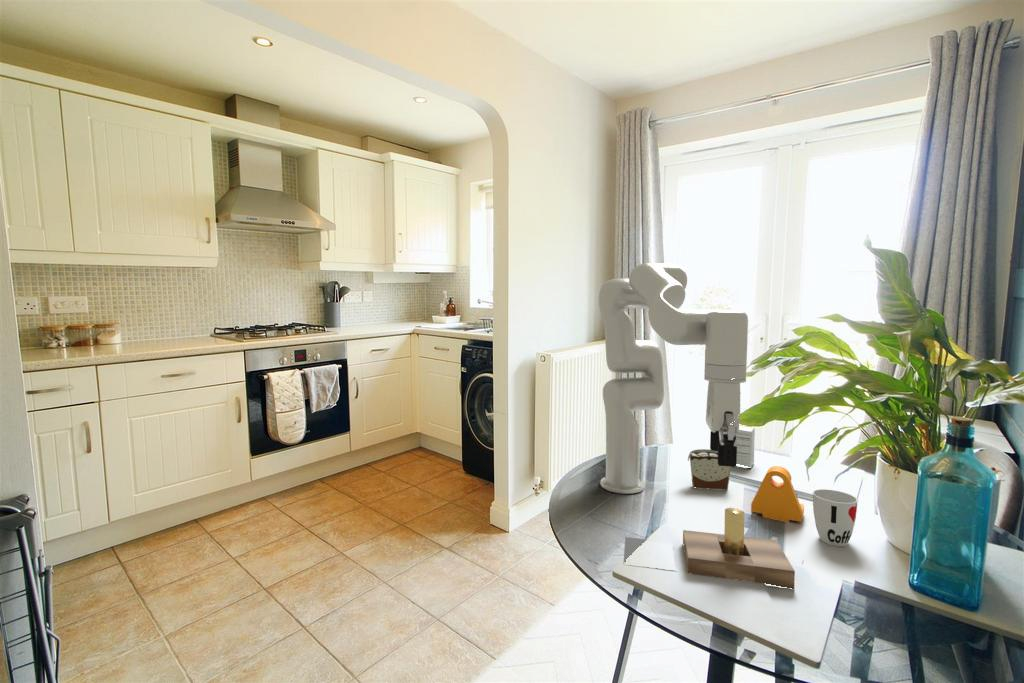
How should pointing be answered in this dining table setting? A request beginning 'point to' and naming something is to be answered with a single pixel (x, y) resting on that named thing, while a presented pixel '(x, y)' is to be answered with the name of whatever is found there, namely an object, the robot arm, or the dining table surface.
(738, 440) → the supplement box
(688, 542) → the mortise block
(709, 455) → the food container
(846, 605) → the dining table surface
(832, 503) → the cup
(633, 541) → the mat
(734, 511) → the peg
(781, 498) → the bracket
